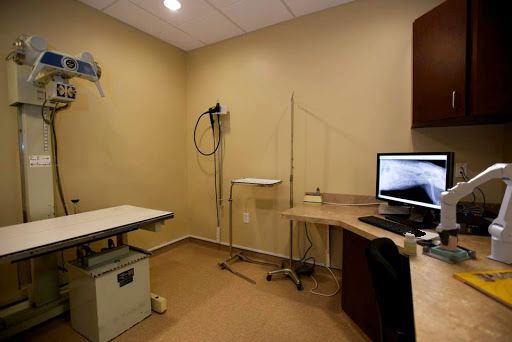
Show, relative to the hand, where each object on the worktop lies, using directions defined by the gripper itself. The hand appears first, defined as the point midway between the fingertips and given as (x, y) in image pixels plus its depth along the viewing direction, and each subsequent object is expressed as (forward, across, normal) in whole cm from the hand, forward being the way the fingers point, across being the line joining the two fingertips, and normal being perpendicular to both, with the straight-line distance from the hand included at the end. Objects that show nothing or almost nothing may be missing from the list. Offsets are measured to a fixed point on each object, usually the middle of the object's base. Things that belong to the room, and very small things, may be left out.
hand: (448, 244), depth 116 cm
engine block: (+2, 0, 0) cm, 2 cm away
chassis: (+5, 0, 0) cm, 5 cm away
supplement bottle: (+6, +14, -9) cm, 18 cm away
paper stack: (+6, -16, -21) cm, 27 cm away
